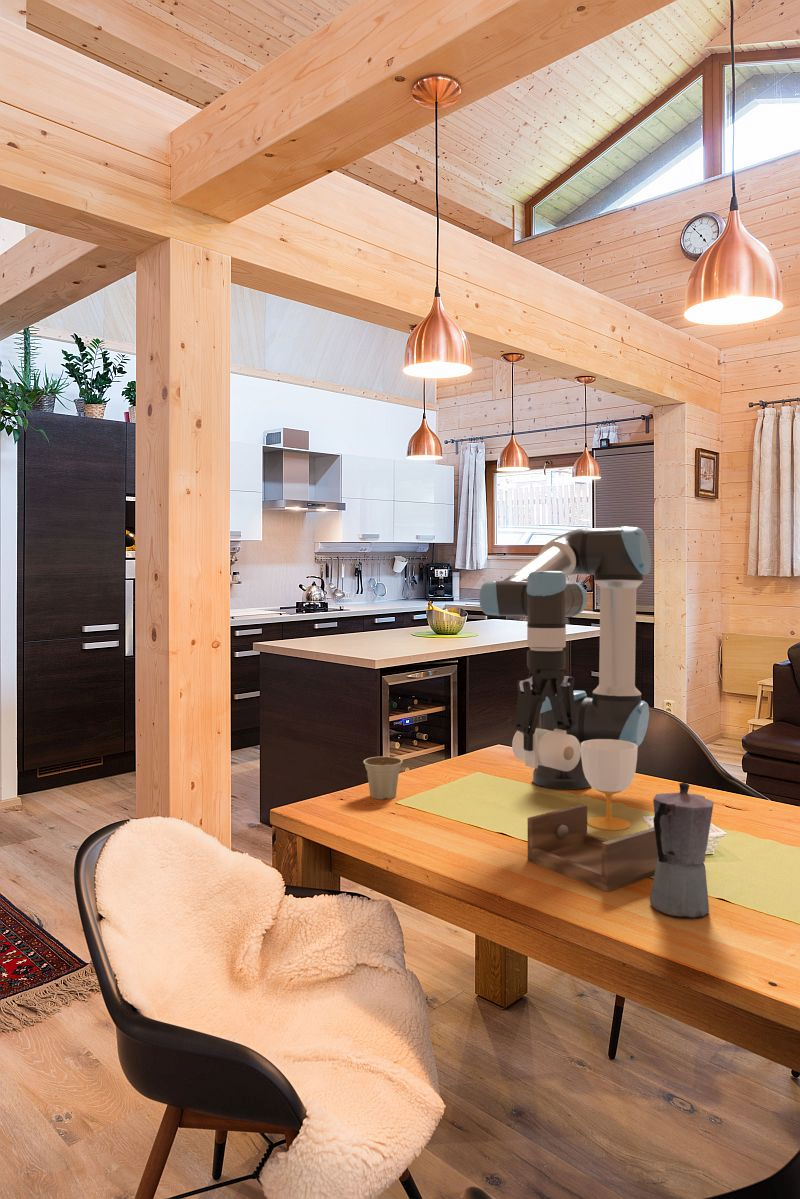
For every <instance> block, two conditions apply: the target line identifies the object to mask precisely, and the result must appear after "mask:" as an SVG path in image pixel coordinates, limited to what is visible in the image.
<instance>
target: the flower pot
mask: <svg viewBox="0 0 800 1199" xmlns="http://www.w3.org/2000/svg"><path fill="white" fill-rule="evenodd" d="M363 764H364V767H365V769H366V772H367V774H366V776H367V780H368V787H369V788H368V789H369V794H370V797H371V798H372V799H375V800H384V799H388V800H391V799H394V798H395V797H396V796H397V791H398V790H397V789H398V783H399V774H400V769H401V765H402V764H403V759H401V758H399V757H394V756H373V757H368V758H366V759H364V760H363Z"/></svg>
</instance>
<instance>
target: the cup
mask: <svg viewBox="0 0 800 1199" xmlns="http://www.w3.org/2000/svg"><path fill="white" fill-rule="evenodd" d="M638 748H639V746H637V745H636V744H635V743H631V742H628V741H622V740H613V739H594V740H587V741H583V742H582V743H581V759H582V767H583V771H584V775H585V778H586V779H587V781H588V783H589V784H590V787H591V788H592V789H595V790H596V791H597V792H600V793H602V794H604V796H605V800H606V801H605V802H606V807H605V808H606V809H605V810H606V813H605V816H596V817H591V818H589V819H587V826H590V827H592V828H594V829H597V830H603V831H618V832H619V831H624V830H628V829H630V827H631V826H632V824H631V823H630V821H628V820H626V819H624V818H619V817H616V816H615V817H614V816H612V815H613V814H612V797H613V795H615V794H618V793H619V794H620V793H621V792H624V791H625V790H627V789H628V787H629V786H630V785H631V783H632V782H633V780H634V778H635V774H636V769H637V763H638V750H639V749H638Z"/></svg>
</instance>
